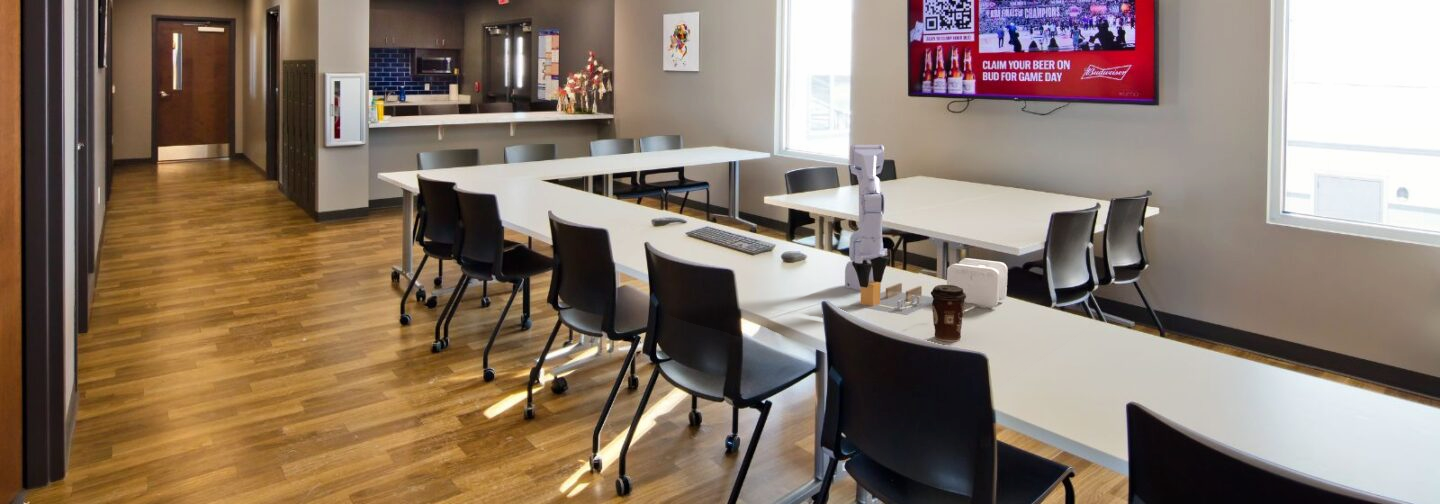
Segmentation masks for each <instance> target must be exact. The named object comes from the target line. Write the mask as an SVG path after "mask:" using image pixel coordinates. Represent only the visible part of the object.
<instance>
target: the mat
mask: <svg viewBox="0 0 1440 504" xmlns="http://www.w3.org/2000/svg"><path fill="white" fill-rule="evenodd" d="M932 302H933V297H932V296H927V295H922V294H921V297H920V296H917V298H916V299H915V295H912V300H911V301H909V302H906V292H902V293H901V294H899V295H896V296H894V297H891V298H889V299H887V298H886V290H885V291H881V292H880V303H879V304H877V305H874V306H870V305H864V304H861V300H859V301H856V302H853V303H851V304H849V306H852V307H856V308H857V307H858V308H863V309H868V310H869V309H870V310H875V311H882V312H887V313H892V314H898V315H905V316H907V315H909V314H912V313H914V312H916V311H918V310H921V309H924V308H927V307H928V306H932Z"/></svg>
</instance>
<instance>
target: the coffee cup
mask: <svg viewBox="0 0 1440 504" xmlns="http://www.w3.org/2000/svg"><path fill="white" fill-rule="evenodd" d="M930 295H931V297H933V302H932V304H931V309H932V310H931V311H932V319H933V320H932V321H933V322H932V323H933V327H934V338H935V339H936V340H938V341H942V342H947V343H954V341H955V342H958V341H957V340H959V341H961V338H962V336H961V335H962V334H961V333H962V325H963V318H964V317H963V316H964V309H965V302H964V300H965V298H966V294H965V293H964V292H963V289H962V288H960V287H958V286H954V285H947V284H938V285H936V286H934V287H933V288H932V291H930Z"/></svg>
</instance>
